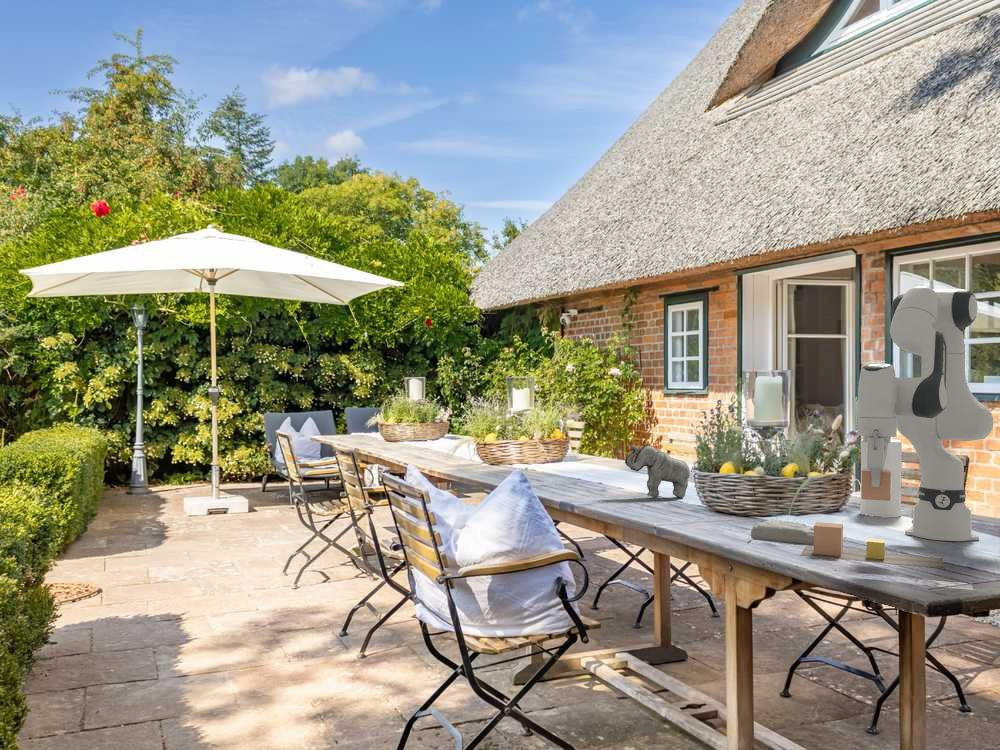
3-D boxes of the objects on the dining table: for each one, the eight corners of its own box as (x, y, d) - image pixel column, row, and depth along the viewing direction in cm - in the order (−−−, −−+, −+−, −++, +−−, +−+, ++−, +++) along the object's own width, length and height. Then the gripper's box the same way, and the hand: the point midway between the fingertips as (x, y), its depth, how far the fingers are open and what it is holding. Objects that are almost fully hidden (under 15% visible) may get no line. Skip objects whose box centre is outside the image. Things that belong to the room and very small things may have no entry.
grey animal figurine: (683, 495, 329) (684, 443, 329) (692, 499, 320) (693, 445, 320) (621, 496, 324) (621, 443, 324) (628, 500, 315) (629, 445, 315)
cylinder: (909, 516, 283) (910, 441, 284) (876, 518, 280) (877, 441, 281) (883, 511, 296) (884, 438, 296) (852, 512, 293) (853, 439, 293)
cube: (867, 554, 214) (867, 538, 214) (884, 556, 213) (884, 540, 213) (866, 557, 211) (866, 541, 211) (884, 559, 209) (884, 542, 209)
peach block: (816, 549, 221) (816, 522, 221) (842, 551, 218) (843, 524, 218) (813, 553, 215) (813, 525, 215) (841, 556, 212) (841, 527, 212)
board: (805, 550, 225) (805, 546, 225) (942, 563, 211) (942, 558, 211) (800, 559, 213) (800, 555, 213) (944, 573, 199) (944, 568, 199)
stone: (748, 542, 237) (748, 523, 237) (764, 534, 250) (764, 516, 250) (828, 552, 225) (829, 532, 225) (841, 543, 238) (841, 524, 238)
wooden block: (862, 496, 216) (863, 468, 216) (890, 497, 213) (890, 469, 213) (861, 499, 210) (861, 470, 210) (890, 501, 208) (890, 472, 208)
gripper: (890, 431, 201) (889, 490, 201) (891, 427, 220) (890, 481, 220) (861, 430, 204) (860, 488, 204) (864, 426, 222) (864, 479, 222)
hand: (876, 484), depth 212 cm, fingers closed on wooden block, 6 cm apart
